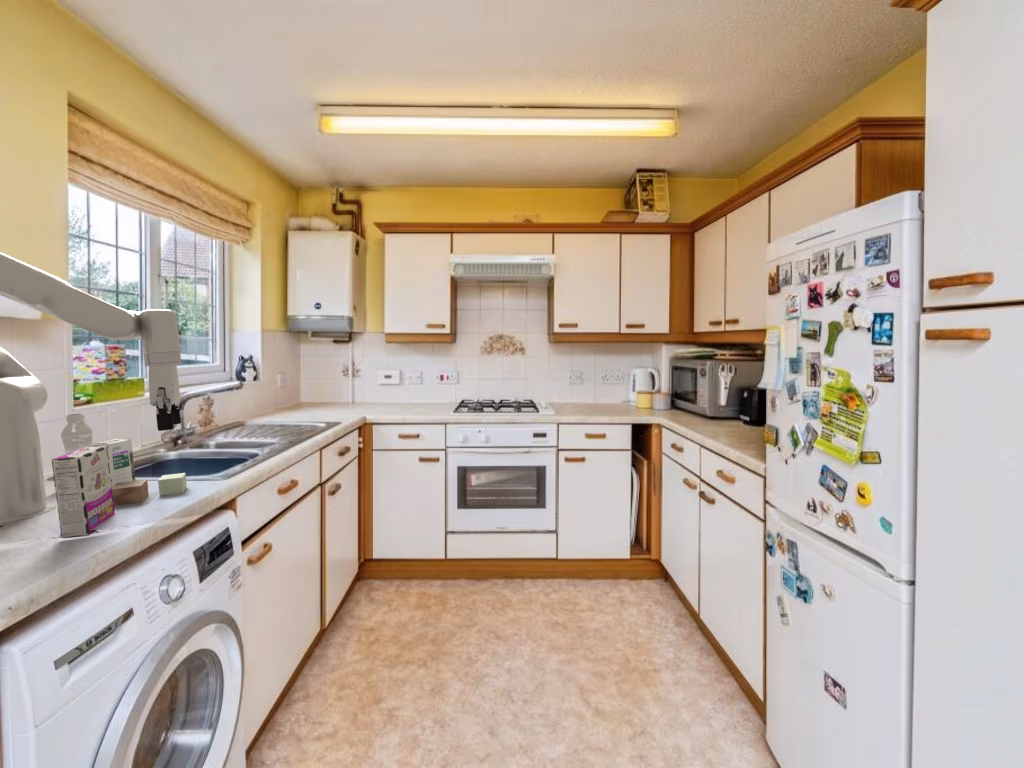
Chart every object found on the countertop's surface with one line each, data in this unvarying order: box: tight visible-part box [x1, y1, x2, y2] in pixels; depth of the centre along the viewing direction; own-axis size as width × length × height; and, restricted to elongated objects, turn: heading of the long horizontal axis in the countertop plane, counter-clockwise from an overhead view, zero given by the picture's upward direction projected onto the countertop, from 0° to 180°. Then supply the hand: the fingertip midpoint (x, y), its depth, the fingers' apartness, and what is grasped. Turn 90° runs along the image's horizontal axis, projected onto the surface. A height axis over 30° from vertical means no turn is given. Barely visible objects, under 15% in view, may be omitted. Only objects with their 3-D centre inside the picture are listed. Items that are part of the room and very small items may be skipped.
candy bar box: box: [51, 446, 115, 539], centre depth 102 cm, size 11×5×16 cm, turn 17°
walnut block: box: [112, 479, 149, 506], centre depth 118 cm, size 6×6×4 cm
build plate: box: [114, 491, 159, 509], centre depth 118 cm, size 9×10×1 cm
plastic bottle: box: [60, 412, 94, 454], centre depth 135 cm, size 6×7×20 cm
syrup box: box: [92, 438, 137, 487], centre depth 124 cm, size 6×6×14 cm
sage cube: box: [157, 472, 187, 496], centre depth 125 cm, size 5×5×5 cm
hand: (170, 427), depth 124 cm, fingers open, 9 cm apart
